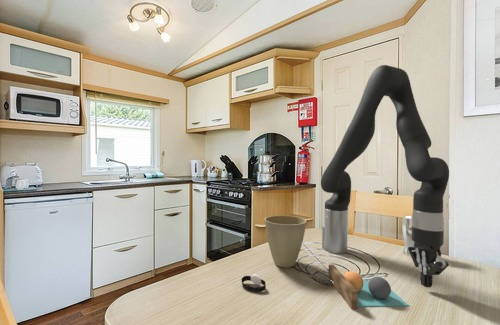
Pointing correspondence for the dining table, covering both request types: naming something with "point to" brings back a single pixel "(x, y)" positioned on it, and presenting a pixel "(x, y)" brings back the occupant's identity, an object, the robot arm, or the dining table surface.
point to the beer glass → (407, 234)
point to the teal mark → (369, 300)
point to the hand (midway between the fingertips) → (426, 285)
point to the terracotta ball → (354, 280)
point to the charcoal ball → (379, 287)
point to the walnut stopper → (343, 287)
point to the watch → (255, 280)
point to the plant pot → (285, 238)
